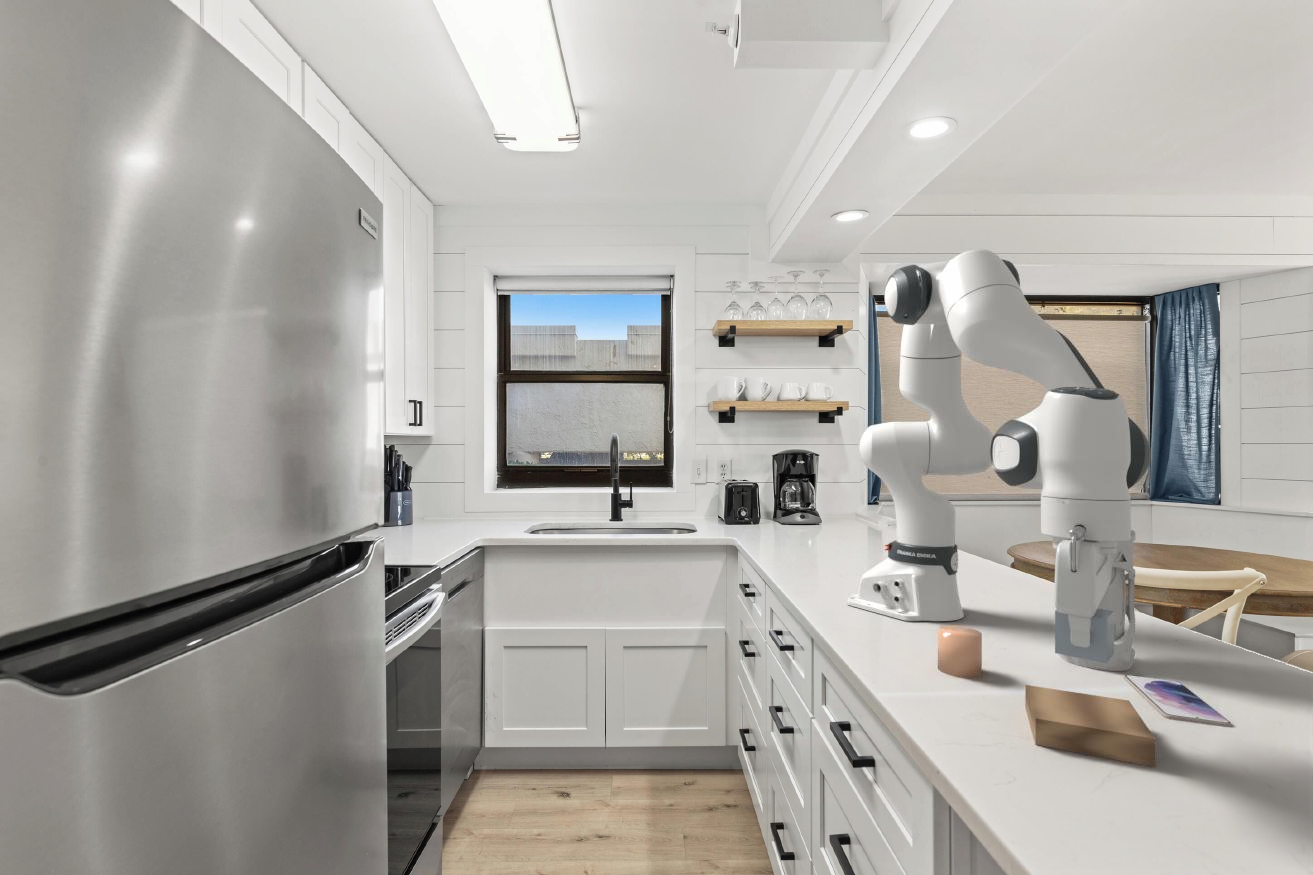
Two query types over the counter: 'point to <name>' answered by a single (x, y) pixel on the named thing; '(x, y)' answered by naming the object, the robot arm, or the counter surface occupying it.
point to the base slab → (1089, 725)
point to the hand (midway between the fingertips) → (1084, 638)
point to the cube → (1100, 637)
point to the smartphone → (1176, 701)
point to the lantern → (1118, 611)
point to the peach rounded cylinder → (960, 651)
